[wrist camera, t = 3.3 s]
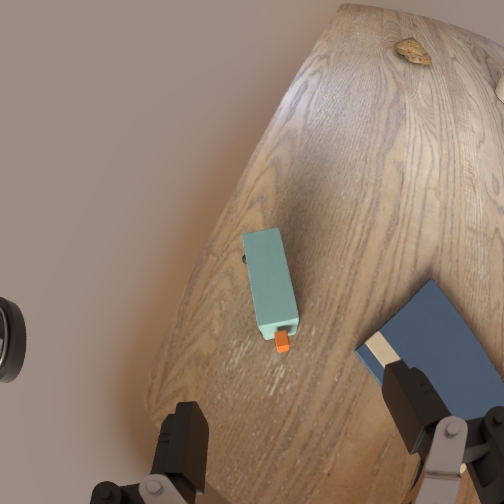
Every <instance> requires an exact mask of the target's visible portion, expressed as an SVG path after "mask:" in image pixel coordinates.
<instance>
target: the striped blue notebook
mask: <svg viewBox="0 0 504 504" xmlns="http://www.w3.org/2000/svg"><path fill="white" fill-rule="evenodd" d="M354 352H355V353H356V354H357V356H358V357H359V358H360V359H361V361H362V362H363V363H364V365H365V366H366V367H367V368H368V370H369V371H370V372H371V374H372V375H373V376H374V377H375V379H376V380H377V381H378V383H379V384H380V385H381V387H382V382H383V375H384V368H385V365H386V364H389V363H392V362H395V361H398V360H400V359H402V360H404V362H405V363H406V365H407V366H408V368H409V369H410V368H412V367H416V368H418V369H419V370H421V371H422V372H424V373H425V375H426V376H427V378H428V379H429V381H430V383H431V384H432V385H433V387H434V389H435V390H436V391H437V393H438V394H439V396H440V397H441V399H442V400H443V402H444V403H445V405H446V407H447V408H448V410H449V411H450V413H451V414H452V415H453V416H457V417H460V418H462V419H463V420H470V419H475V418H479V417H483V416H485V415H486V413H487V412H488V411H489V410H490V409H491V408H493V407H495V406H503V407H504V382H503V380H502V379H501V377H500V375H499V373H498V372H497V370H496V368H495V367H494V365H493V363H492V362H491V360H490V358H489V357H488V355H487V354H486V352H485V350H484V349H483V347H482V346H481V344H480V343H479V341H478V340H477V338H476V337H475V335H474V334H473V332H472V331H471V329H470V328H469V327H468V325H467V324H466V322H465V321H464V320H463V318H462V317H461V315H460V314H459V313H458V311H457V310H456V309H455V307H454V306H453V304H452V303H451V302H450V301H449V299H448V298H447V297H446V295H445V294H444V293H443V291H442V290H441V289H440V288H439V286H438V285H437V284H436V283H435V281H434V280H433V279H432V278H430V279H429V280H428V281H427V282H426V283H425V284H424V285H423V287H422V288H421V289H420V290H419V291H418V292H417V293H416V294H415V295H414V296H413V297H412V298H411V299H410V300H409V301H408V302H407V303H406V304H405V305H404V306H403V307H402V308H401V309H400V310H399V311H398V312H397V313H396V314H395V315H394V316H393V317H392V318H390V319H389V320H388V321H387V322H386V323H385V324H384V325H383V326H382V327H381V328H380V329H379V330H377V331H376V332H375V333H374V334H373V335H372V336H371V337H370V338H368V339H367V340H366V341H365V342H364V343H363V344H362V345H360V346H359V347H358V348H357V349H356V350H355V351H354ZM466 468H467V467H466V465H465V463H464V464H461V468H460V472H459V475H460V474H461V473H462V472H463V471H464V470H465V469H466Z"/></svg>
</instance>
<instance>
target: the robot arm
mask: <svg viewBox="0 0 504 504" xmlns="http://www.w3.org/2000/svg"><path fill="white" fill-rule="evenodd" d="M9 343H10V328H9V321H8V317H7V314H6V312H5V310H4V309H3V308H2V307H1V306H0V369H1V368H2V366H3V365H4V363H5V361H6V358H7V355H8V350H9ZM382 395H383V398H384V401H385V403H386V405H387V407H388V409H389V411H390V413H391V415H392V417H393V419H394V421H395V424H396V426H397V428H398V430H399V432H400V434H401V436H402V439H403V441H404V443H405V445H406V447H407V450H408V452H409V454H410V455H412V454H414V453H416V452H418V453H419V456H420V459H419V461H418V464H417V467H416V470H415V473H414V476H413V478H412V481H411V484H410V486H409V489H408V491H407V493H406V496H405V498H404V499H403V501H402V503H401V504H455V502H456V499H457V496H458V492H459V489H460V485H461V480H462V478H461V476H460V475H459V472H460V468H461V464H464V463H465V465H466V467H467V469H468V472H469V474H470V476H471V479H472V481H473V484H474V486H475V489H476V491H477V494H478V496H479V499H480V502H481V504H504V407H503V406H495V407H493V408H491V409H490V410H489V411H488V412H487V413H486V415H485V416H483V417H479V418H475V419H470V420H463V419H462V418H460V417H457V416H453V415H452V414H451V413H450V411H449V410H448V408H447V407H446V405H445V403H444V402H443V400H442V399H441V397H440V396H439V394H438V393H437V391H436V390H435V389H434V387H433V385H432V384H431V383H430V381H429V379H428V378H427V376H426V375H425V373H424V372H422V371H421V370H419V369H418V368H416V367H412V368H410V369H409V368H408V366H407V365H406V363H405V362H404V360H402V359H400V360H398V361H395V362H392V363H389V364H386V365H385V368H384V375H383V382H382ZM208 438H209V427H208V423H207V420H206V418H205V417H204V415H203V413H202V411H201V409H200V407H199V405H198V404H197V402H196V401H191V402H179V403H178V404H177V406H176V411H175V414H168V416H167V417H166V419H165V420H164V421H163V423H162V426H161V430H160V435H159V439H158V444H157V447H156V452H155V457H154V461H153V466H152V470H151V473H150V475H148V476H146V477H145V478H143V480H142V481H141V482H140V483H138V484H133V485H127V486H120V487H119V486H117V485H116V484H114V483H112V482H109V481H105V482H101V483H99V484H98V485H96V486H95V488H94V489H93V492H92V496H91V501H90V504H196V503H195V496H196V494H199V495H203V494H204V488H205V474H206V462H207V450H208Z"/></svg>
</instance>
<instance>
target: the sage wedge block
mask: <svg viewBox="0 0 504 504" xmlns="http://www.w3.org/2000/svg"><path fill="white" fill-rule="evenodd" d="M242 238H243V244H244V250H245V255H244V256H243V257H242V261H243V263H245V264H247V267H248V273H249V279H250V285H251V291H252V296H253V302H254V308H255V314H256V319H257V325H258V327H259V329H260V333H261V335H262V336H264V338H265V339H266V340H268V339H274V338H275V342H276V347H277V350H278V352H284V351H288V350H289V339H288V336H289V335H294V334H296V331H297V329H298V322H299V314H298V309H297V304H296V300H295V295H294V291H293V286H292V282H291V277H290V273H289V269H288V264H287V260H286V256H285V251H284V247H283V243H282V239H281V234H280V230H279V227H276V228H271V229H266V230H261V231H256V232H251V233H246V234H242Z"/></svg>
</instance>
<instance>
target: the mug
mask: <svg viewBox="0 0 504 504" xmlns="http://www.w3.org/2000/svg"><path fill="white" fill-rule="evenodd" d="M495 94H496V95H497V97H498V98H499V99H500V100H501V101H502V102H503V103H504V70H503V72H502V75H501V77H500V80H499V82H498V85H497V87H496V89H495Z"/></svg>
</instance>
